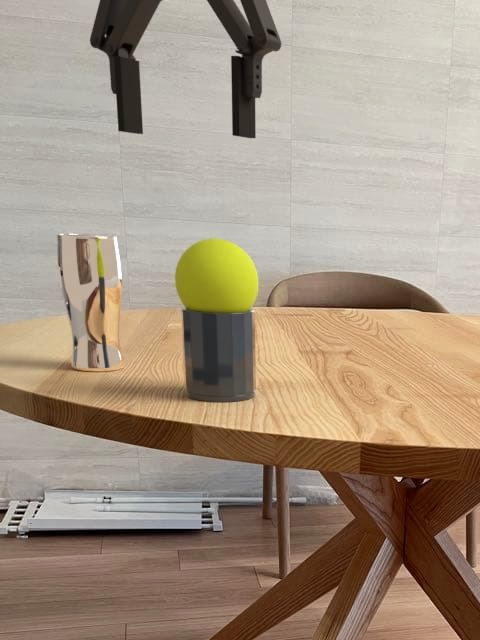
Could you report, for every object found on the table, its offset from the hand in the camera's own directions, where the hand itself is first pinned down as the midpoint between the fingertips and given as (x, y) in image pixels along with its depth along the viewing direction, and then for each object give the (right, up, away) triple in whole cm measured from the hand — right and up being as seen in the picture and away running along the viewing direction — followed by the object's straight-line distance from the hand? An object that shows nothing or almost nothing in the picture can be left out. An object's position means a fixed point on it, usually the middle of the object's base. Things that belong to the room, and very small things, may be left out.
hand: (185, 135), depth 81 cm
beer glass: (-16, -19, +19) cm, 31 cm away
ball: (+2, -17, +6) cm, 18 cm away
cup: (+2, -24, +9) cm, 25 cm away
